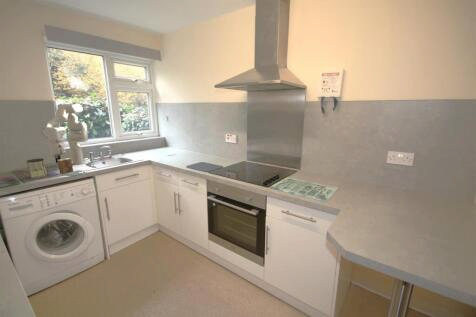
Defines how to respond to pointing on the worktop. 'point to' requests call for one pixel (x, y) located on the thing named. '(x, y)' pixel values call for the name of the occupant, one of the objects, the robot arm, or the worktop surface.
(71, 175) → the mat
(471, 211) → the worktop surface
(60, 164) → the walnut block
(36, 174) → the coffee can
